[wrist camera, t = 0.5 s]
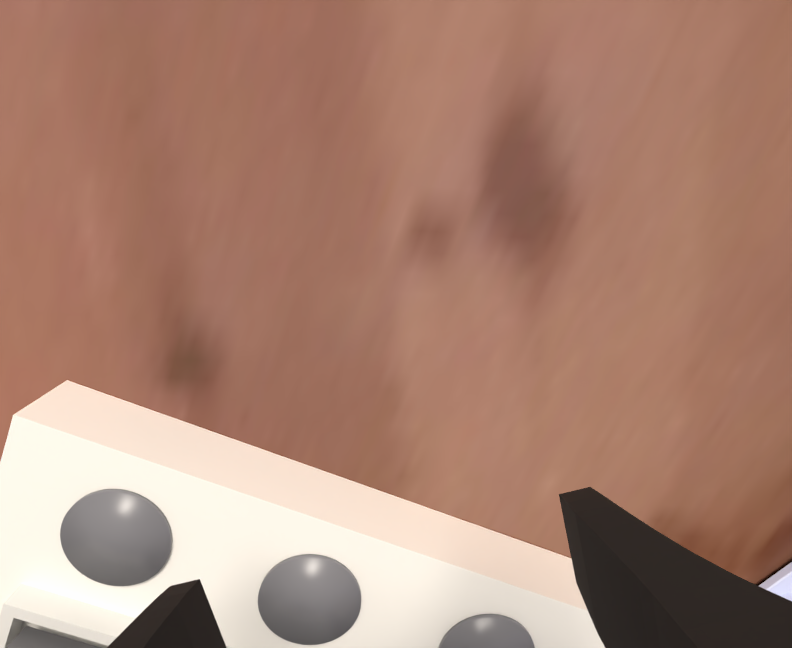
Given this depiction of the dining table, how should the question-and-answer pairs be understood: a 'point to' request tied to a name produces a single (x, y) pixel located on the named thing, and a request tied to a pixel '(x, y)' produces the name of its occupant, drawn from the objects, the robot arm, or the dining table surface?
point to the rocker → (44, 640)
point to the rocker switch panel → (249, 543)
